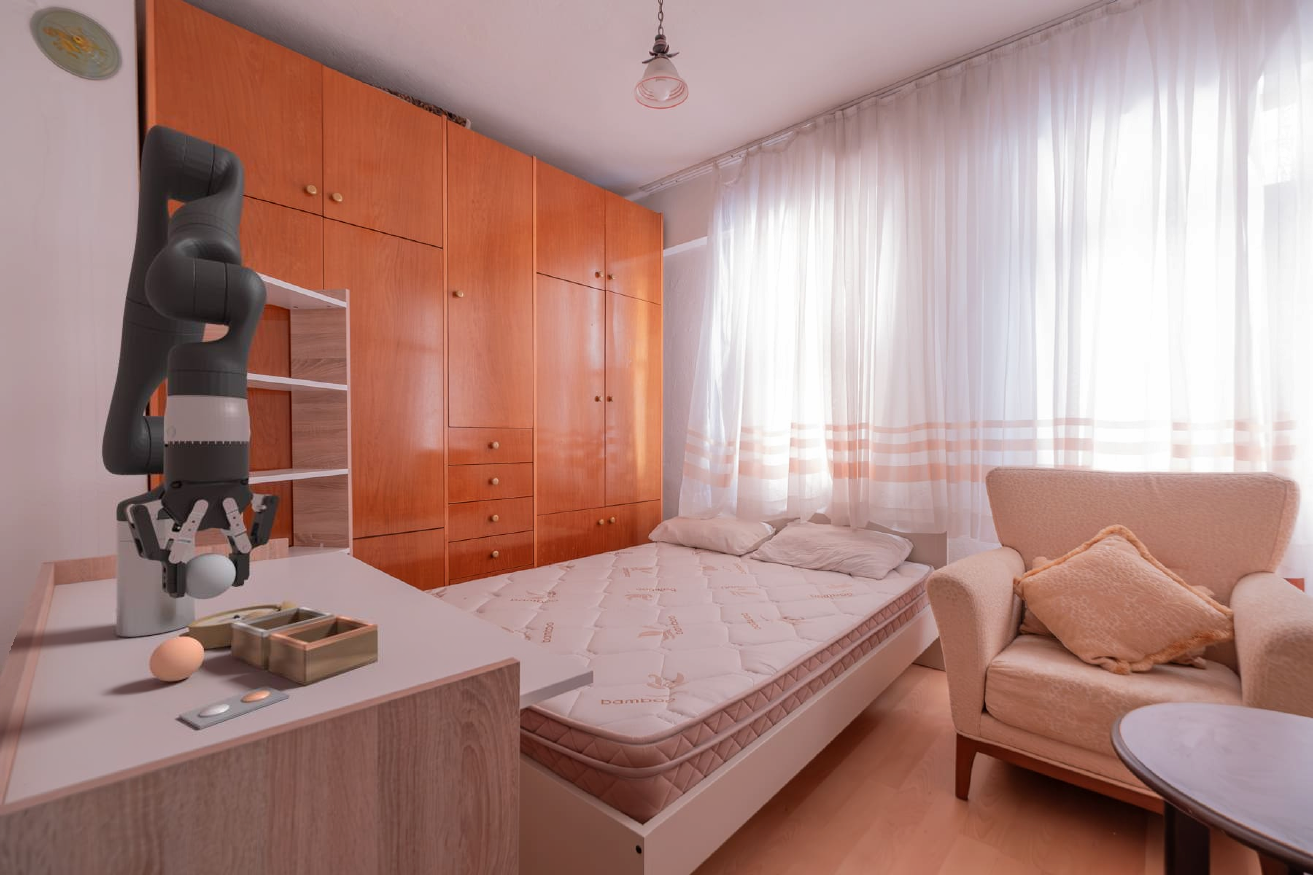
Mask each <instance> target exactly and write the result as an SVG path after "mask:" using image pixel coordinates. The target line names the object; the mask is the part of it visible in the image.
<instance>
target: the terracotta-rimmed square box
mask: <svg viewBox="0 0 1313 875" xmlns="http://www.w3.org/2000/svg"><path fill="white" fill-rule="evenodd" d="M378 632H379V630H378V624H377V623H372V622H368V621H363V620H360V619H356V618H352V617H346V616H342V615H336V616H334V617H332V618H328V619H324V620H321V621H317V622H313V623H309V624H305V625H301V626H297V627H294V628H290V629H286V630H282V631H278V632H274V633H271V634H269V668H268V672H269V673H272V674H274V675H277V676H279V677H282V678H285V679H288V680H290V681H293V682H295V683H298V684H301V685H303V686H305V687H307V686H310V685H312V684H315V683H319V682H322V681H324V680H327V679H330V678H332V677H336V676H338V675H339V676H340V675H341V674H344V673H347V672H350V671H353V670H356V669H358V668H361V666H362V667H364V666H367V665H371V664H373V663H375V662H374V661H376V662H378V661H379V654H378V652H379V648H378V647H379V645H378V642H379V641H378Z"/></svg>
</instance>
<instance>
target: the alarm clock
mask: <svg viewBox="0 0 1313 875" xmlns="http://www.w3.org/2000/svg"><path fill="white" fill-rule="evenodd" d="M296 607H298V606H297V604H296V603H294V602H293V601H292V600H291V601H290V600H284V601H283V600H282V602H281V604H276V603H274V604H273V603H272V604H271V603H270V604H260V605H252V606H247V607H246V606H245V607H240V608H236V609H235V608H234V609H231V610H230V609H229V610H225V611H221V612H218V613H214V614H210V615H206V616H203V617H200V618H198V619H195V621H192V622H191V623H189V624H188V626H187V627H188V631H186V632H183V633H180V634H179V635H178V637H190V638H193V639H195V640H197V641H198V642H199V643H200V644H201V645H202V647H203V649H206V650H207V649H215V648H221V647H227V646H231V623H232V622H236V621H240V620H245V619H249V618H253V617H257V616H262V615H266V614H270V613H275V612H279V611H283V610H288V609H292V608H296Z"/></svg>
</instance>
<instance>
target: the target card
mask: <svg viewBox="0 0 1313 875" xmlns="http://www.w3.org/2000/svg"><path fill="white" fill-rule="evenodd" d="M289 698H290V694H288V693H285V692H283V691H280V690H278V689H275V688H273V687H271V686H268V685H264V686H261V687H258V688H255V689H253V690H249V691H246V692H243V693H239V694H237V695H235V696H231V697H228V698H225V699H221V700H219V701H215V702H213V703H210V704H206V705H204V706H202V707H197V708H195V709H191V710H189V711H185V712H183V713H179V714H178V717H179V719H181V720H183V721H185V722H186V723H189V725H192V726H193V727H195V728H198V729H199V730H201V729H205V728H208V727H210V726H213V725H216V724H219V723H221V722H225V721H227V720H230V719H233V718H235V717H238V716H239V717H240V716H241V715H245V714H248V713H250V712H253V711H256V710H258V709H261V708H264V707H266V706H270V705H272V704H275V703H278V702H280V701H281V702H282V701H284V700H286V699H289Z"/></svg>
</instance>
